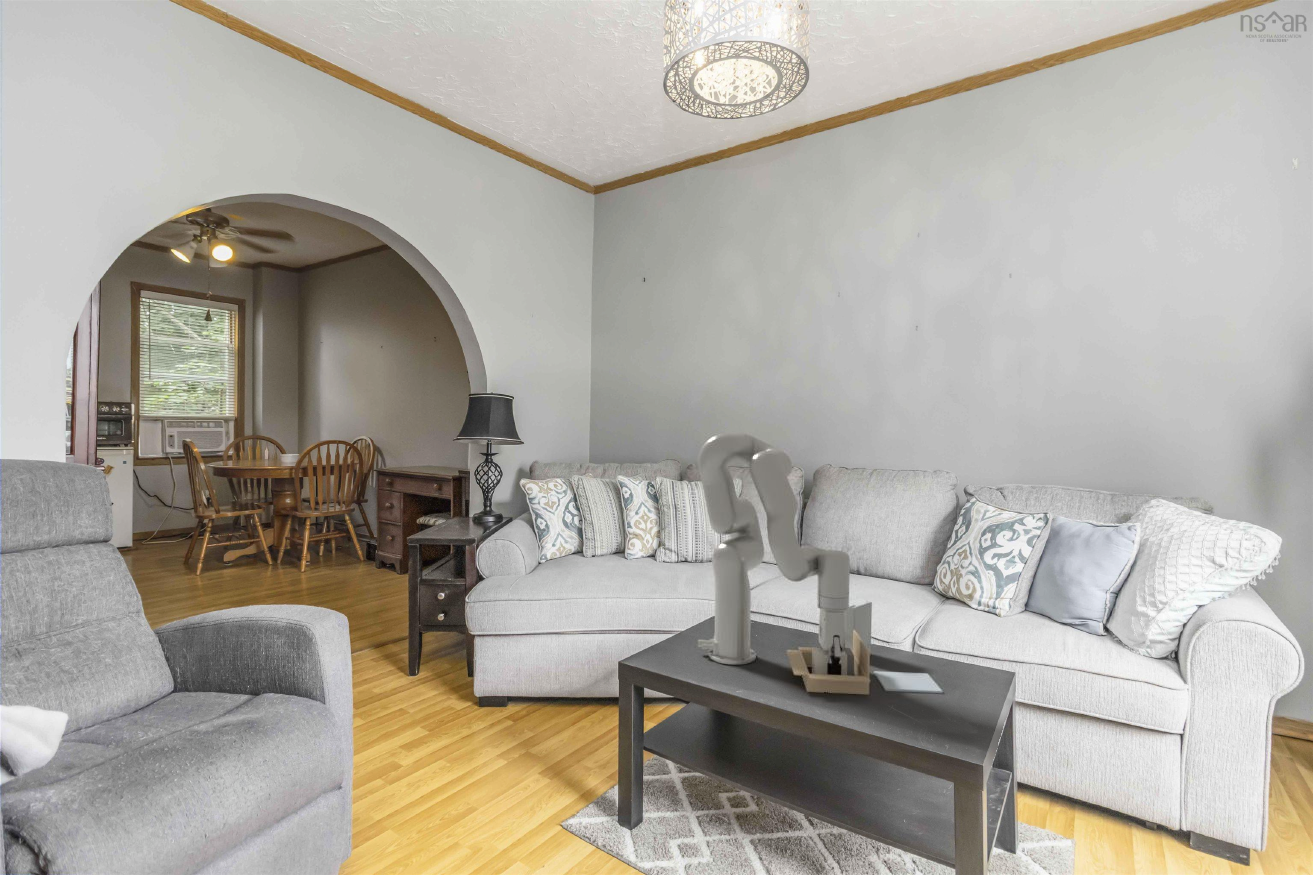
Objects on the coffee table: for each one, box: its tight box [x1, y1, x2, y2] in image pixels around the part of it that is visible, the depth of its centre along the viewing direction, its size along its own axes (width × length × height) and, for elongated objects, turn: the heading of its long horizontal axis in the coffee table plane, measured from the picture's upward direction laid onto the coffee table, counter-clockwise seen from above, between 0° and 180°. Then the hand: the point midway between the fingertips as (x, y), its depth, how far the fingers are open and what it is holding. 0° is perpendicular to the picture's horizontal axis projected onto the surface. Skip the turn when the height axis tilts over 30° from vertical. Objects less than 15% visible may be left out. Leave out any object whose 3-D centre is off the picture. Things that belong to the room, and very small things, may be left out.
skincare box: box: [845, 596, 873, 655], centre depth 179 cm, size 8×6×15 cm
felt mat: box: [873, 670, 943, 694], centre depth 160 cm, size 13×11×1 cm
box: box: [811, 646, 855, 676], centre depth 162 cm, size 9×5×7 cm, turn 85°
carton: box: [786, 630, 871, 695], centre depth 162 cm, size 17×21×10 cm
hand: (832, 674), depth 162 cm, fingers closed on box, 5 cm apart
